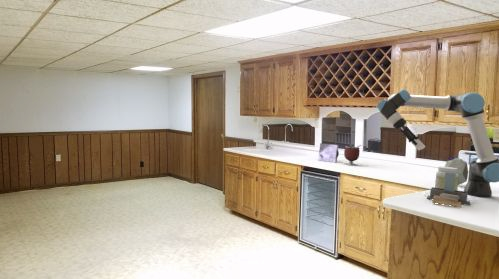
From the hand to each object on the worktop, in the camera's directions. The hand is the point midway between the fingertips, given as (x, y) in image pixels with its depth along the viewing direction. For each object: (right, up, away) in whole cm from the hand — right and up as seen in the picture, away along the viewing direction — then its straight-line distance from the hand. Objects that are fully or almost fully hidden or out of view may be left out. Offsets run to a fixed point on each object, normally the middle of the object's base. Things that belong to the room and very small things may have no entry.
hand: (422, 148), depth 223 cm
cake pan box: (-23, -17, +158) cm, 160 cm away
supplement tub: (+17, -29, +8) cm, 34 cm away
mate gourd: (-4, -19, +140) cm, 141 cm away
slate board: (+10, -29, -9) cm, 32 cm away
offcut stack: (+4, -29, -20) cm, 35 cm away
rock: (+46, -28, +51) cm, 74 cm away
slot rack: (+10, -29, -9) cm, 32 cm away
